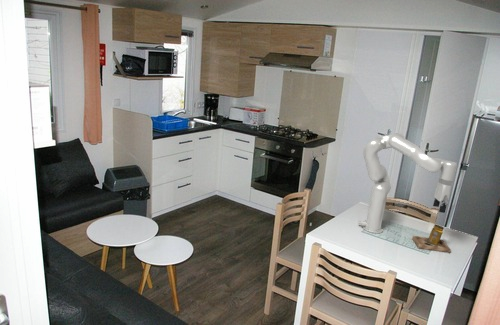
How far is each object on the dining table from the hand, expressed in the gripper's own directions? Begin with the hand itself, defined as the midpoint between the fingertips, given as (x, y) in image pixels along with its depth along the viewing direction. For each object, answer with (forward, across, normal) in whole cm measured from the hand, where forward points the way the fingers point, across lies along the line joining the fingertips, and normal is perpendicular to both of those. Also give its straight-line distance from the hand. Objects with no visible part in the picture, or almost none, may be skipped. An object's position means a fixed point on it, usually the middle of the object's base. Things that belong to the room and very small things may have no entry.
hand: (438, 209), depth 232 cm
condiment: (+22, +1, 0) cm, 22 cm away
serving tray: (+24, 0, 0) cm, 24 cm away
